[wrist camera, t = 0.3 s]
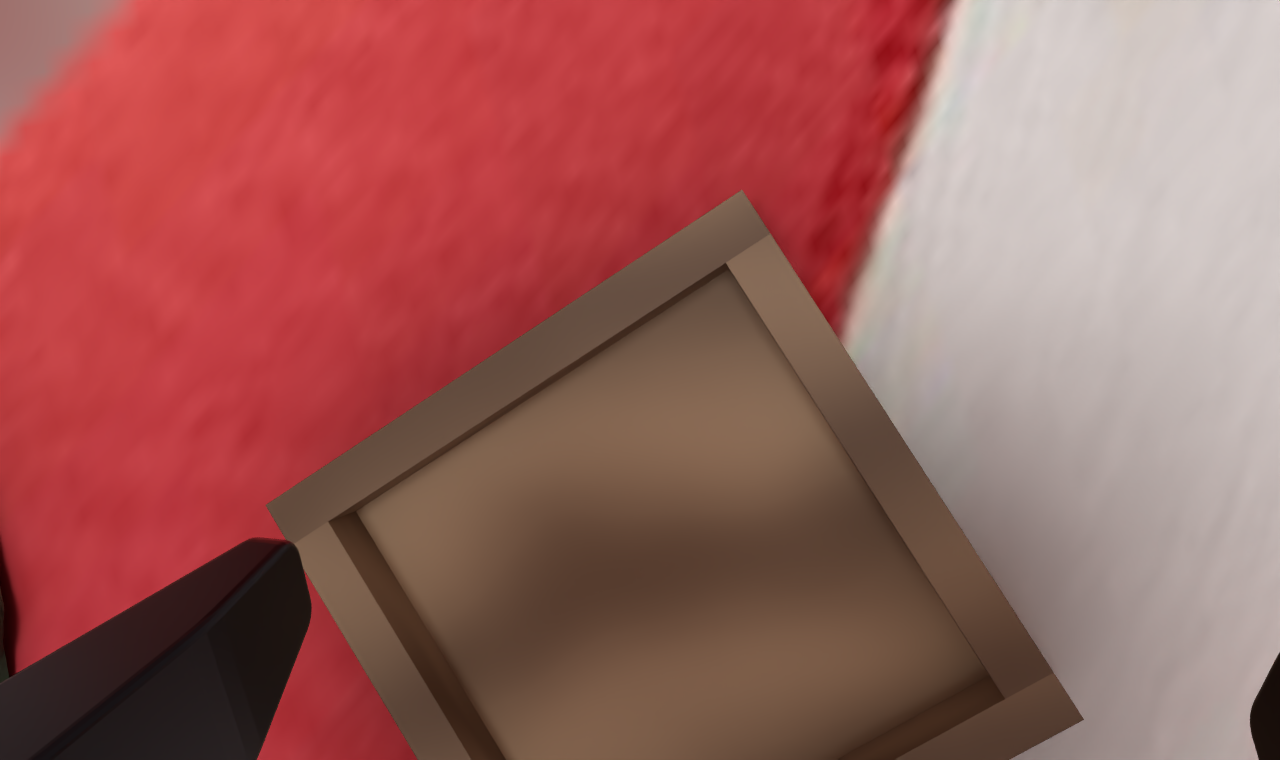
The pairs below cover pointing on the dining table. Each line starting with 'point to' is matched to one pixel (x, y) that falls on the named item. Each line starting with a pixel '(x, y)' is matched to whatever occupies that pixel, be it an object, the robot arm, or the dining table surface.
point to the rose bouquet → (0, 660)
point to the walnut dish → (669, 542)
